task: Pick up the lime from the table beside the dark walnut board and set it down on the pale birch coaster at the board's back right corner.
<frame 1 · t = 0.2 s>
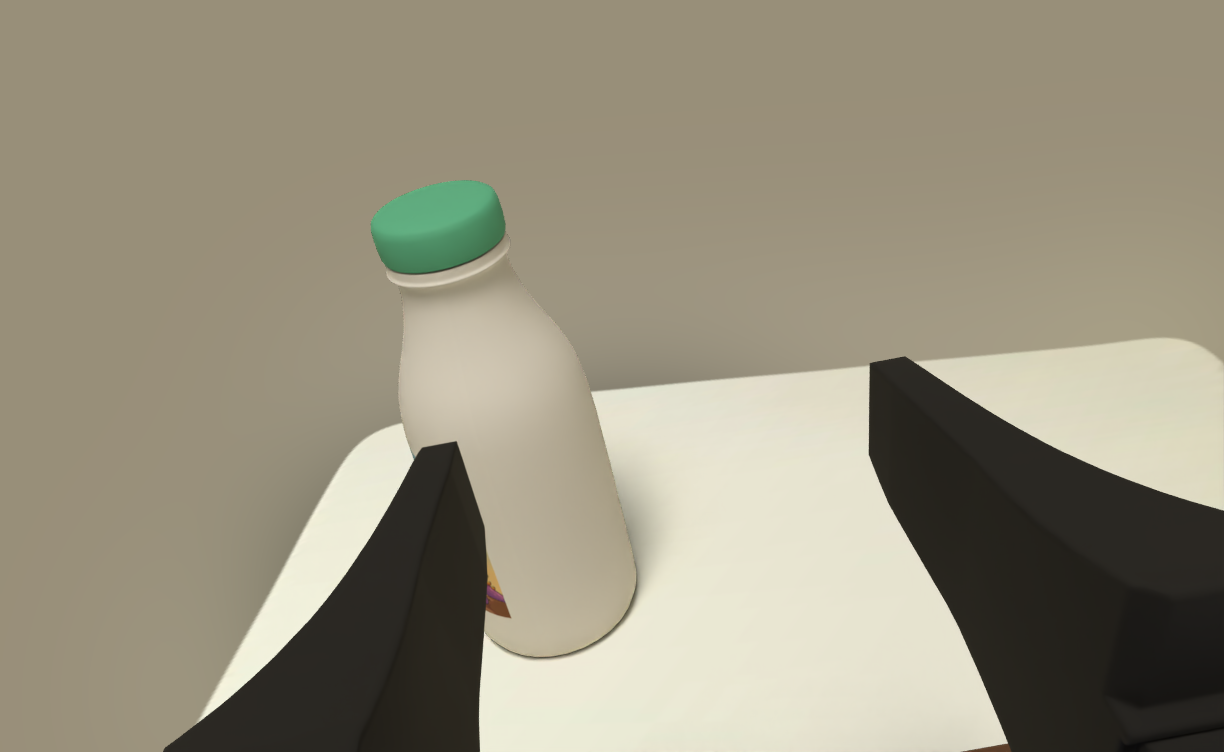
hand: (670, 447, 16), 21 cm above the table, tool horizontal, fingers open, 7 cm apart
milk bottle: (559, 598, 42), on the table
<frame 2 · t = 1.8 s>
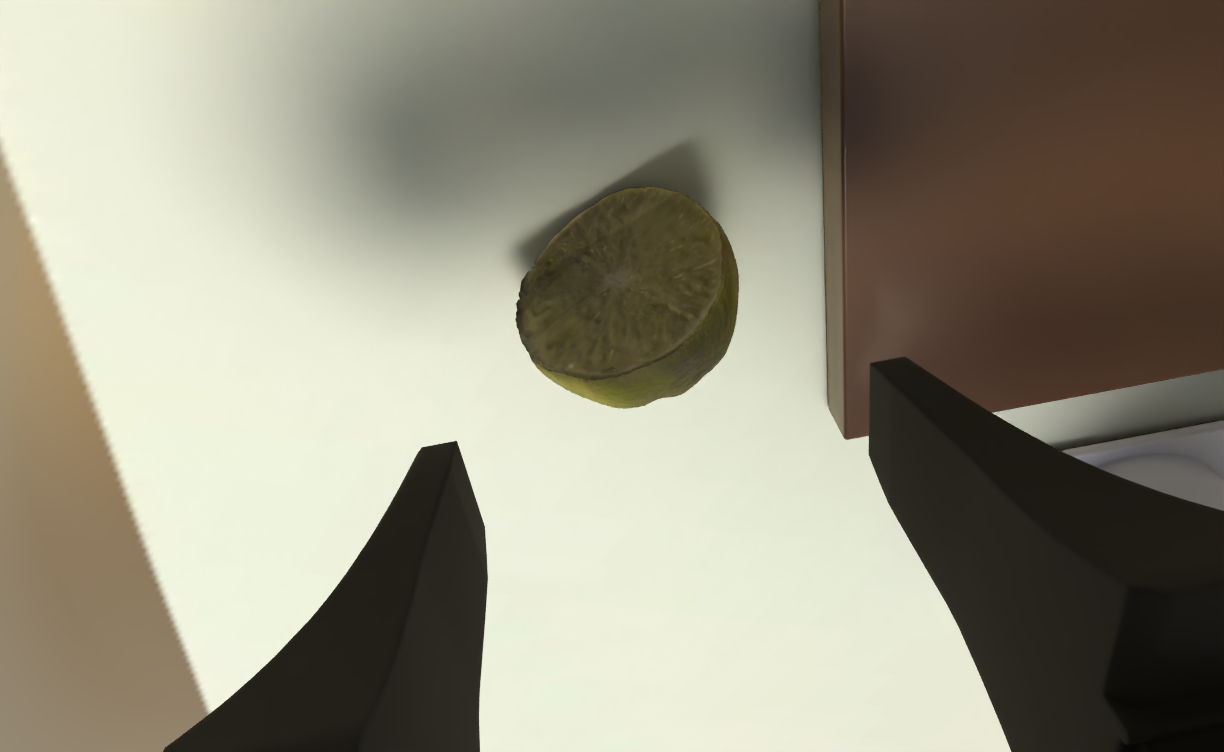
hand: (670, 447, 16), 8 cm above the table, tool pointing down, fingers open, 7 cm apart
cutting board: (1213, 19, 20), on the table
lime: (621, 248, 22), on the table
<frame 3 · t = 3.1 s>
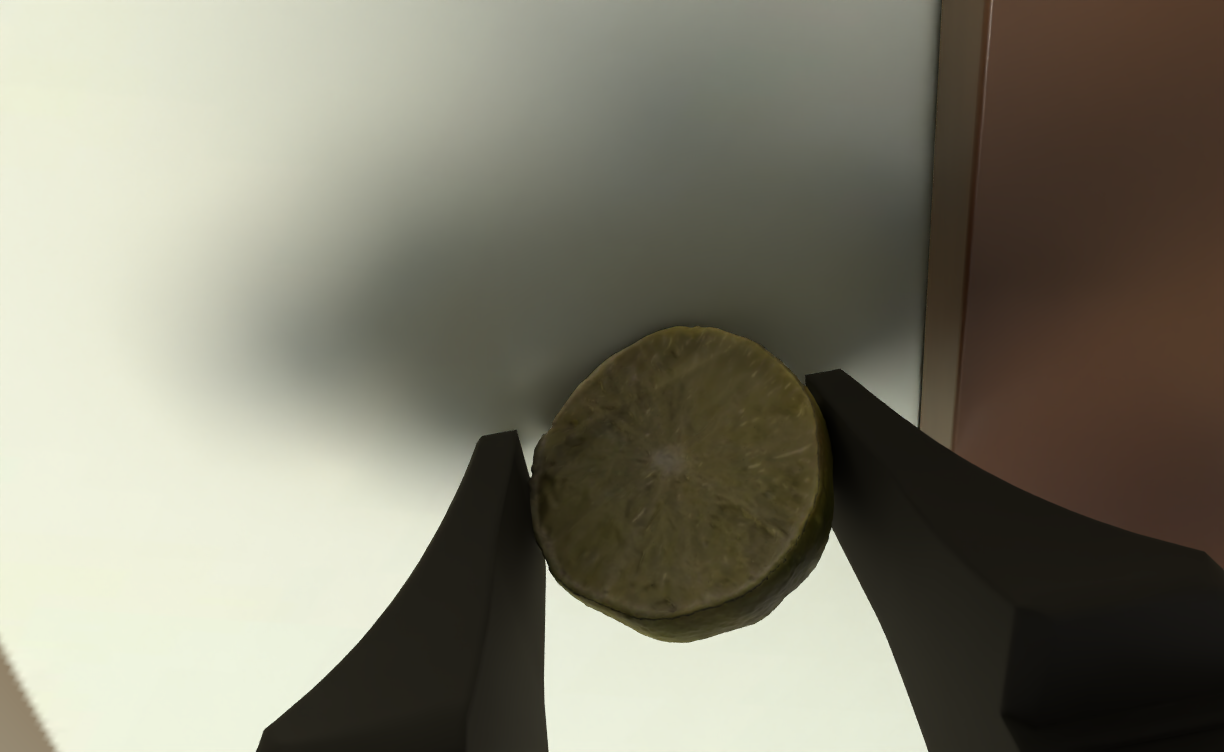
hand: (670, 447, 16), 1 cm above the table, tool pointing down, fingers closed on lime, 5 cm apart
lime: (663, 393, 17), on the table, touching gripper
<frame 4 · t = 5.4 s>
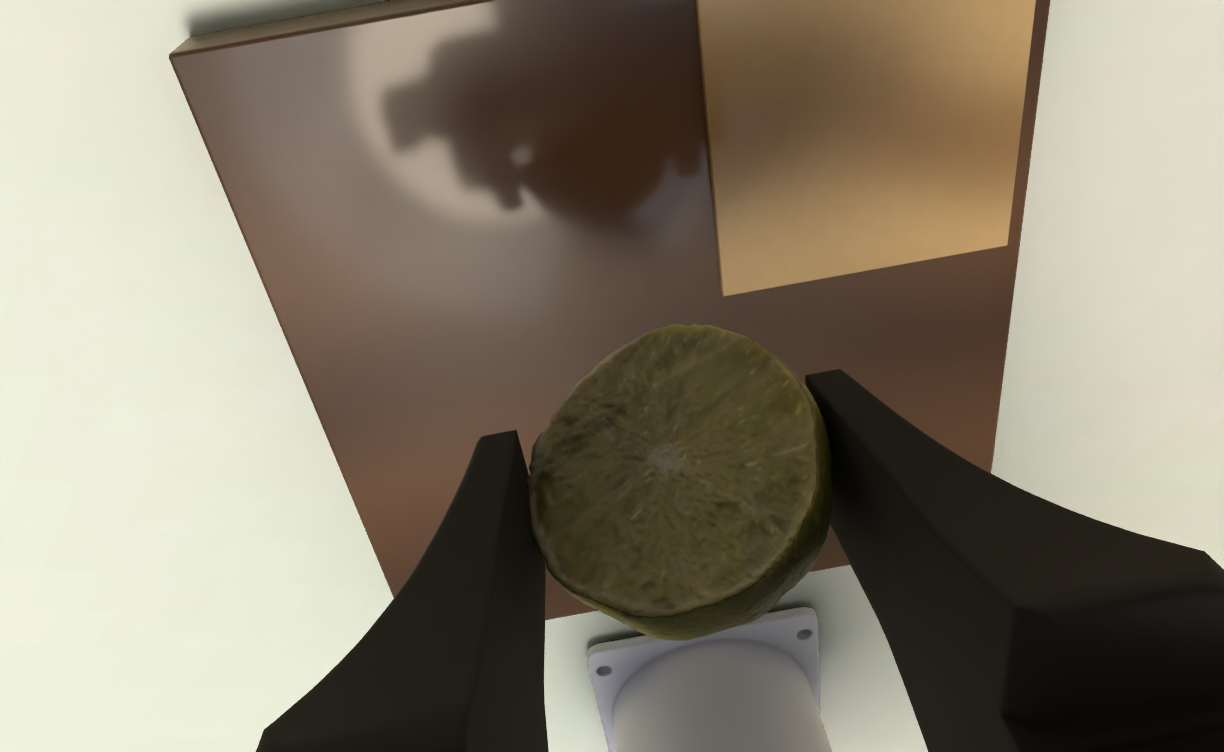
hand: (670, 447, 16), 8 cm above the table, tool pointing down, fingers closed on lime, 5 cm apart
cutting board: (658, 323, 24), on the table
lime: (661, 391, 17), point 7 cm above the table, touching gripper
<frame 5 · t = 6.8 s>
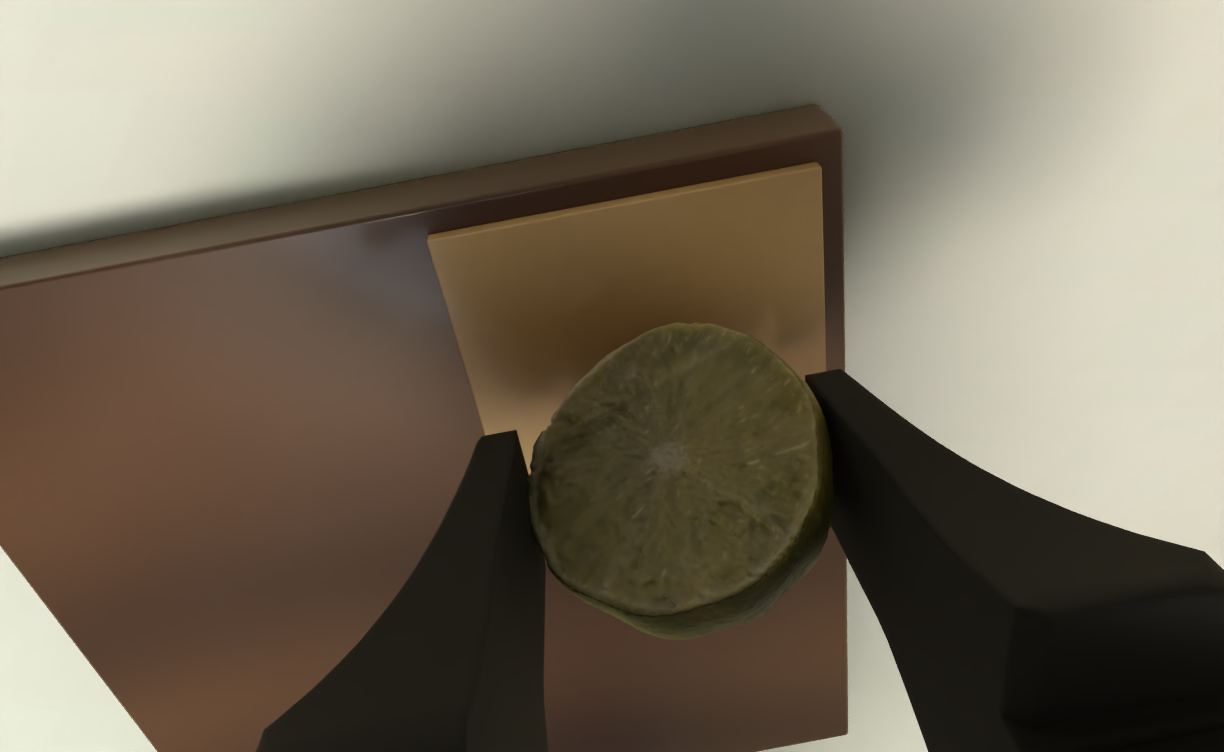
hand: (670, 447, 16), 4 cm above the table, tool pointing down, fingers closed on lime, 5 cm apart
cutting board: (464, 533, 22), on the table
lime: (662, 390, 17), point 3 cm above the table, touching gripper
when the fingers open (3 cm above the table, at t = 7.7 s): lime stays where it is, resting on cutting board.
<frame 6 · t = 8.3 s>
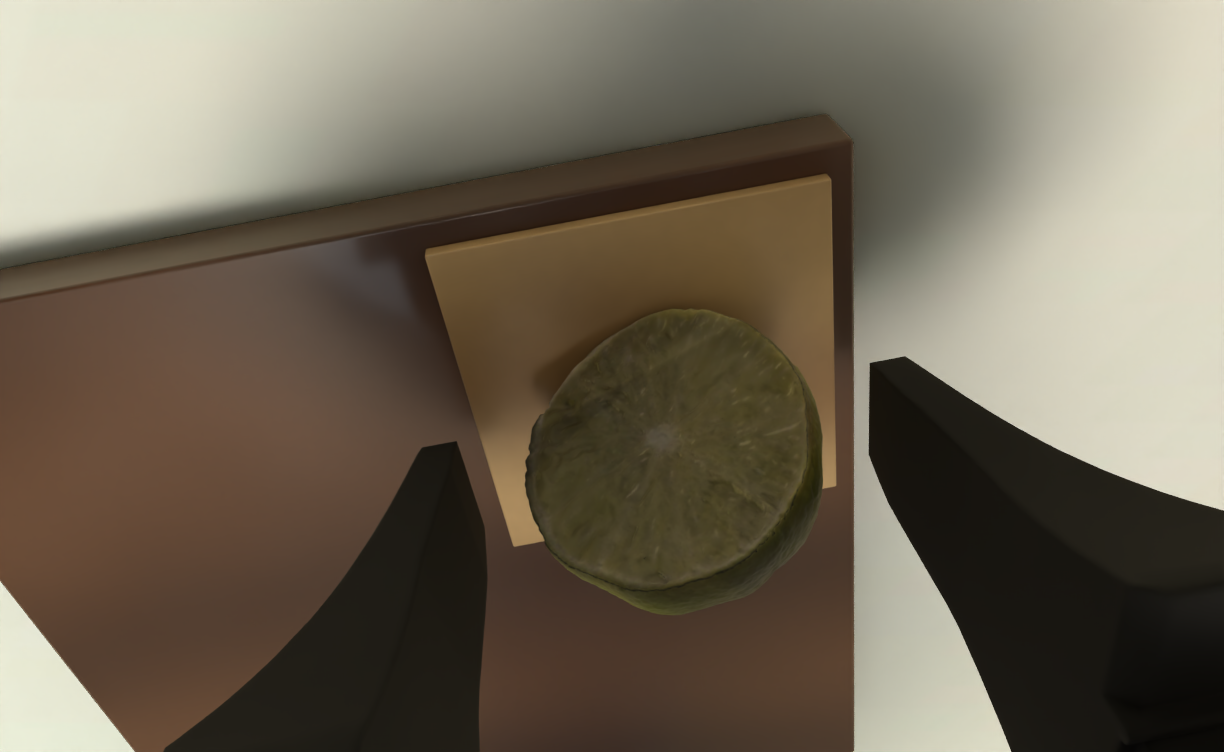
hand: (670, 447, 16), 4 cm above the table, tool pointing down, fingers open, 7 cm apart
cutting board: (464, 549, 21), on the table
lime: (658, 375, 17), point 2 cm above the table, touching cutting board
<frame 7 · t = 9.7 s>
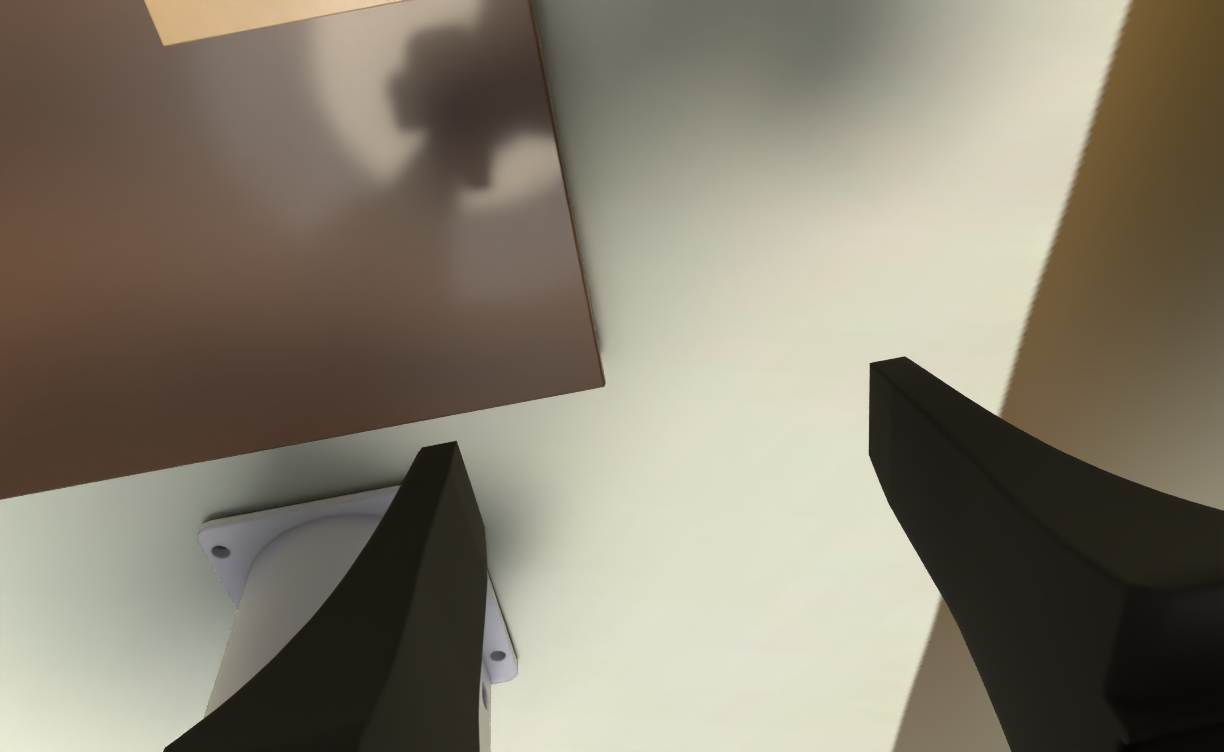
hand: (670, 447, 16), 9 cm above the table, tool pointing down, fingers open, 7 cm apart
cutting board: (151, 106, 20), on the table
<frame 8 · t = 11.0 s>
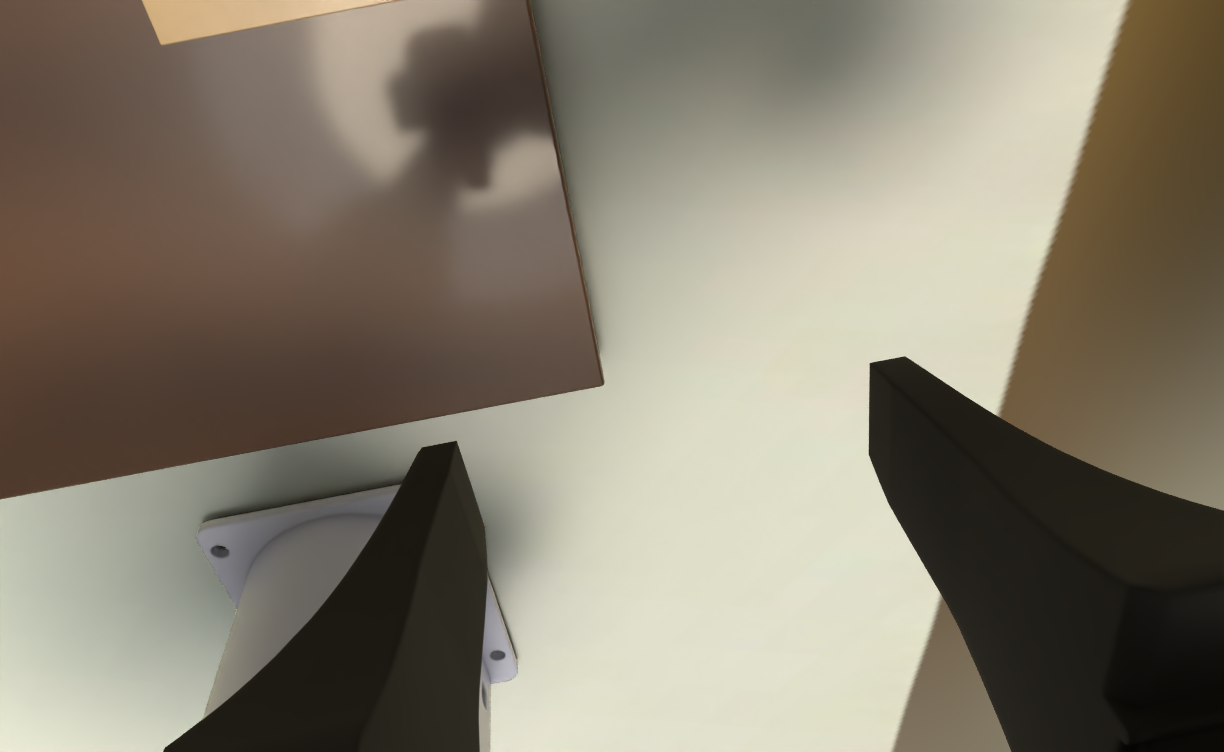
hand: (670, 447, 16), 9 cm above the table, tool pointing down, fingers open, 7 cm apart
cutting board: (149, 105, 20), on the table
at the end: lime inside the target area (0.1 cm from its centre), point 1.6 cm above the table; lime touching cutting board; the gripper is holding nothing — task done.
